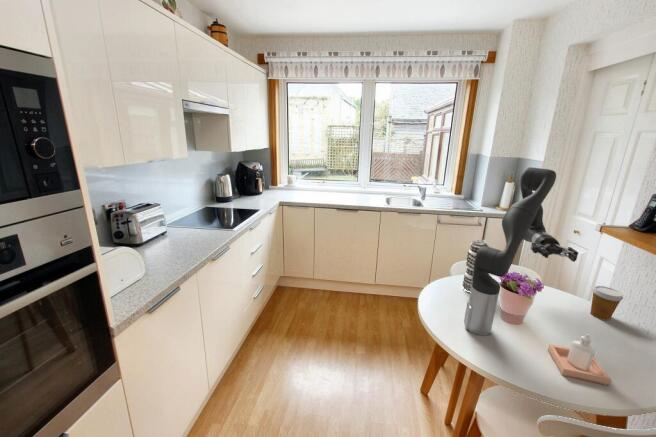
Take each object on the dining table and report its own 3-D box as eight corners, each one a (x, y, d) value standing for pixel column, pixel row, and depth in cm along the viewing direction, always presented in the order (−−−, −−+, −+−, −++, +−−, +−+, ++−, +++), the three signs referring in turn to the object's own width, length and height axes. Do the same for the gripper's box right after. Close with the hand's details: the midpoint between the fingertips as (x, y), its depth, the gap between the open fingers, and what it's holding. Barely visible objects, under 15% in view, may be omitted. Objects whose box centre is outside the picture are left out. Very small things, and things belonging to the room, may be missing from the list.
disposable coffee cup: (620, 320, 123) (629, 295, 120) (605, 324, 120) (614, 298, 117) (594, 308, 132) (602, 284, 128) (580, 311, 129) (587, 286, 126)
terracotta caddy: (561, 375, 93) (563, 368, 93) (547, 350, 104) (549, 344, 104) (608, 385, 90) (610, 379, 89) (588, 358, 101) (590, 352, 100)
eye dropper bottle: (577, 371, 94) (587, 340, 91) (564, 358, 100) (573, 328, 96) (591, 372, 94) (602, 340, 91) (577, 359, 100) (586, 329, 96)
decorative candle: (481, 296, 138) (491, 247, 131) (459, 291, 142) (468, 242, 135) (482, 288, 145) (492, 241, 138) (462, 283, 150) (470, 237, 143)
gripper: (527, 232, 125) (541, 245, 110) (567, 236, 121) (586, 250, 106) (523, 248, 127) (536, 263, 112) (562, 253, 123) (581, 269, 108)
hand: (560, 257), depth 109 cm, fingers open, 8 cm apart
